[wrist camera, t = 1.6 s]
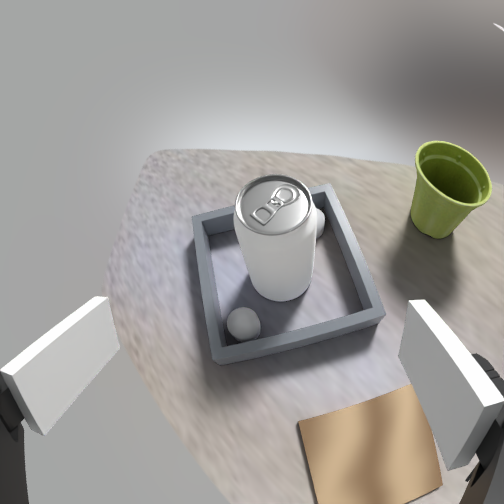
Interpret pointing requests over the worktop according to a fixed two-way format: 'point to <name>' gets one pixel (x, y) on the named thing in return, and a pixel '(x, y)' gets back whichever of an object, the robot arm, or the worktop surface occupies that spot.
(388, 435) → the pad
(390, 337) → the worktop surface
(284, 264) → the can
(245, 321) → the tray
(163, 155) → the worktop surface
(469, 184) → the plant pot
